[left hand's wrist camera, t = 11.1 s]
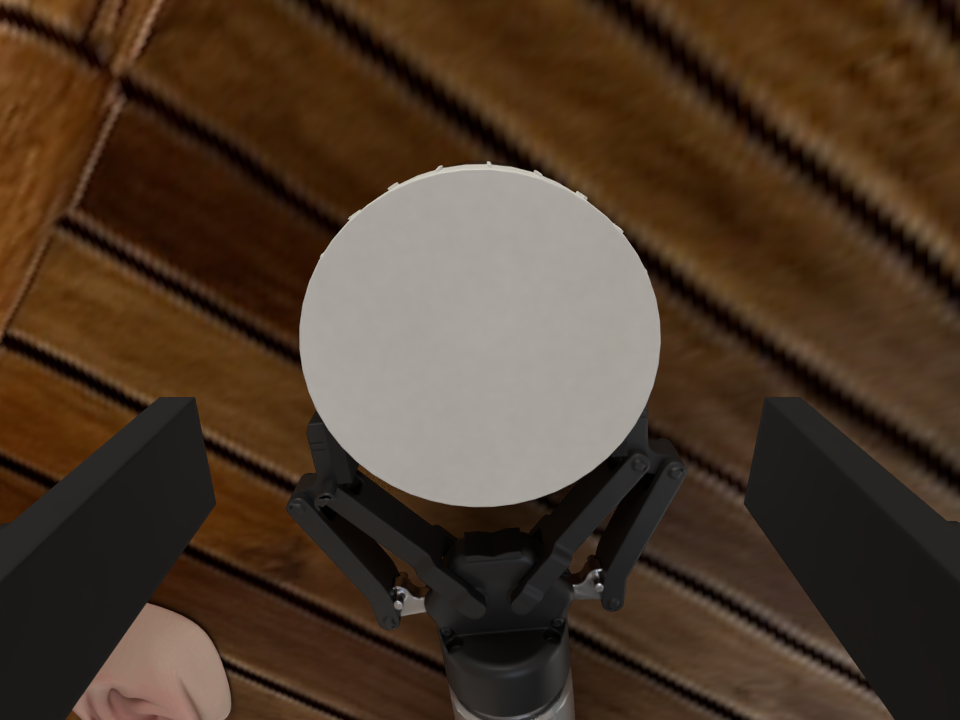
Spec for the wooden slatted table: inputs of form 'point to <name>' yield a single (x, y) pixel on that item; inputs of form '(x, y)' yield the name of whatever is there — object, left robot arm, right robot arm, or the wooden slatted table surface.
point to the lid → (480, 336)
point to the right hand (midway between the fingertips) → (465, 336)
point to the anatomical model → (159, 674)
